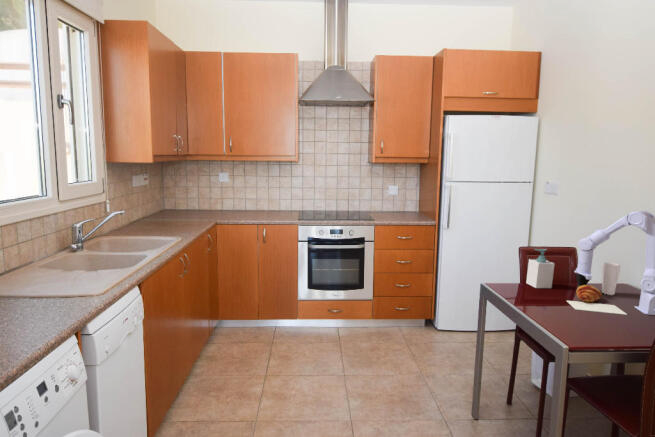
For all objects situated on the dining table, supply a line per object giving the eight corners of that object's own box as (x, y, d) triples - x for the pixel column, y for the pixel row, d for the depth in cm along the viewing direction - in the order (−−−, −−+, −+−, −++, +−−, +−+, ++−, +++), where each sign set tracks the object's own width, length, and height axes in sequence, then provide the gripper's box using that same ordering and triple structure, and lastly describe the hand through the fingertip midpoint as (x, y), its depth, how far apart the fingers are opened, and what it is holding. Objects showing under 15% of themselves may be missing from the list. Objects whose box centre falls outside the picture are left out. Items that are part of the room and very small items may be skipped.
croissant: (583, 299, 213) (576, 283, 214) (606, 294, 207) (599, 278, 208) (576, 308, 196) (568, 291, 198) (600, 303, 190) (592, 285, 192)
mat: (627, 314, 183) (627, 314, 183) (575, 309, 187) (575, 309, 187) (614, 305, 194) (614, 305, 194) (566, 300, 198) (566, 300, 198)
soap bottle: (525, 283, 225) (529, 247, 222) (541, 283, 226) (545, 247, 223) (535, 288, 216) (539, 250, 214) (551, 288, 218) (556, 251, 215)
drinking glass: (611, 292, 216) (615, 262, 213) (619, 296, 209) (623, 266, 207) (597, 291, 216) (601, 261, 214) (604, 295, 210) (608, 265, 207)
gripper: (570, 258, 217) (567, 285, 219) (581, 265, 203) (577, 293, 205) (586, 260, 216) (582, 286, 218) (598, 267, 202) (594, 295, 203)
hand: (581, 290), depth 211 cm, fingers closed
